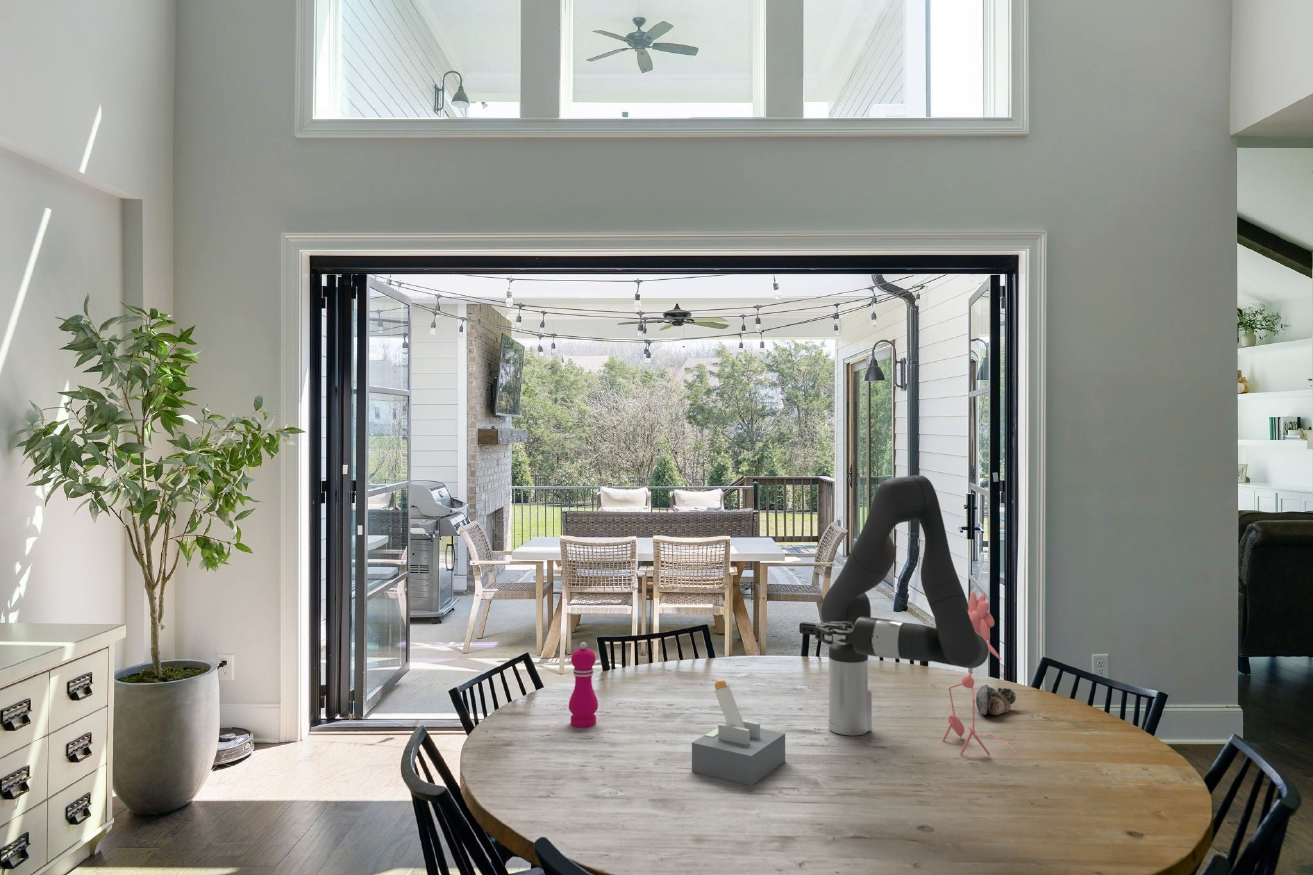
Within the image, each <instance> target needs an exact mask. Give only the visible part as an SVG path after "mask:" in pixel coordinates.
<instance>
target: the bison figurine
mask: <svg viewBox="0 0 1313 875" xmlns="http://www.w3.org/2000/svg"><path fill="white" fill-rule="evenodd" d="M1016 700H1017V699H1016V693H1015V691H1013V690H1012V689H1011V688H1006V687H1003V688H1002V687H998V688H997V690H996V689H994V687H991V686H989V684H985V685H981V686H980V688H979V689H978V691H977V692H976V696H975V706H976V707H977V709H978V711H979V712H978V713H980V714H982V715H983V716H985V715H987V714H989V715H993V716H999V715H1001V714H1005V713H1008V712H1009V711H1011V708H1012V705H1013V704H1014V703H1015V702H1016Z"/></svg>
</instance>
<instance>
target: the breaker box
mask: <svg viewBox="0 0 1313 875" xmlns="http://www.w3.org/2000/svg"><path fill="white" fill-rule="evenodd" d="M742 720H743V723H744V726H745V728H746V729H745V728H740V727H736V726H731V725H728V724H727V722H726V723H719V724H718V726H717V727H716V728H715V729H713V730H711V731H709V732H707V733H706V734H704V735H702V736H701V737H699V738H697V739H695V740H693V741H692V742H691V772H694V773H697V774H701V775H704V776H705V775H706V776H710V777H714V778H718V779H722V780H725V781H730V782H734V783H739V784H743V785H745V786H751V787H752V786H754V784H756V783H757V782H759V781H760V780H761V779H763V778H765V776H767V775H769V774H770V773H771V772H772V771H774V770H775V769H777V768H778V767H779V766H781V765H782V764H783V763H785V762H786V733H785V732H780V731H776V730H775V731H774V730H770V729H764V728H761V723H760V722H757V721H750V720H745V719H742Z"/></svg>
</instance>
